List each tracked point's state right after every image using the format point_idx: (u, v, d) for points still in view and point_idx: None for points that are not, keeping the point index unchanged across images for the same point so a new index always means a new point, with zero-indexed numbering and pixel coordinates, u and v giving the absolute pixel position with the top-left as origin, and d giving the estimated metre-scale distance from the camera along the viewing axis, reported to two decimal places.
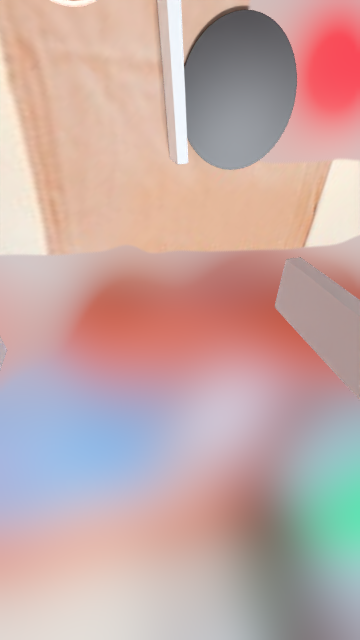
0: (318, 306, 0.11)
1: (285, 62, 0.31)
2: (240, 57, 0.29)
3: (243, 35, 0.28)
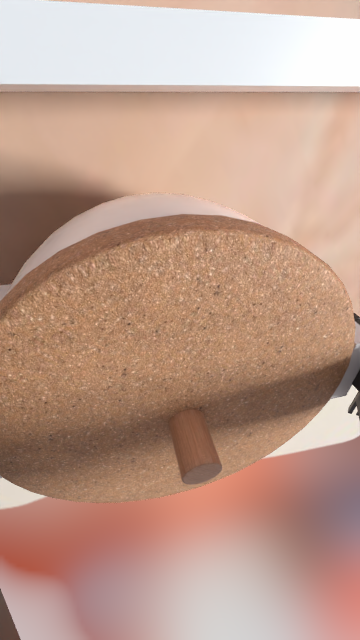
0: None
1: None
2: None
3: None
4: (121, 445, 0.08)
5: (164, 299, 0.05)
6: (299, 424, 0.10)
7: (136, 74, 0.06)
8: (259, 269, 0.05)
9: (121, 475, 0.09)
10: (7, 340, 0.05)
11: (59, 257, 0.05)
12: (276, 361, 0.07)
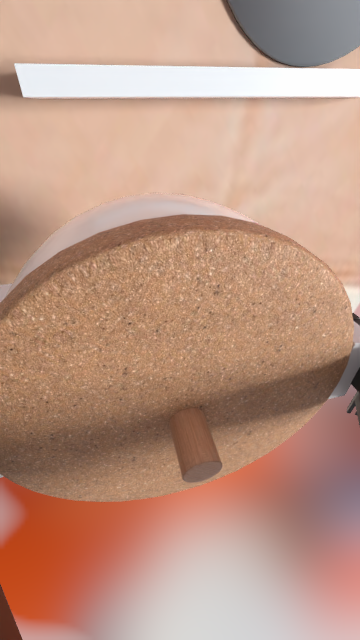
0: None
1: None
2: None
3: None
4: (121, 444, 0.08)
5: (164, 300, 0.05)
6: (299, 423, 0.10)
7: (123, 92, 0.14)
8: (258, 269, 0.06)
9: (122, 474, 0.09)
10: (9, 340, 0.05)
11: (60, 257, 0.05)
12: (276, 360, 0.07)
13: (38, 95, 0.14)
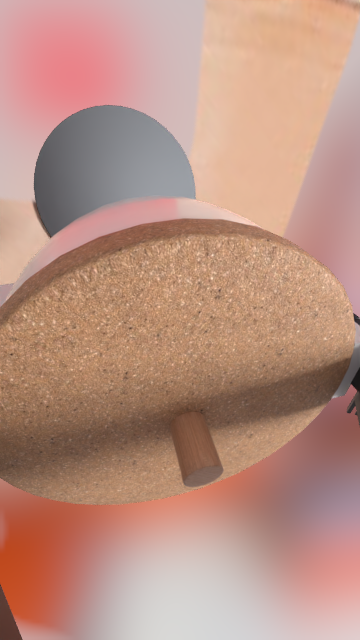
0: None
1: (72, 135, 0.21)
2: (80, 209, 0.25)
3: (59, 208, 0.24)
4: (122, 448, 0.08)
5: (165, 304, 0.05)
6: (300, 426, 0.10)
7: None
8: (260, 273, 0.05)
9: (122, 477, 0.09)
10: (9, 345, 0.05)
11: (60, 262, 0.05)
12: (277, 364, 0.07)
13: None
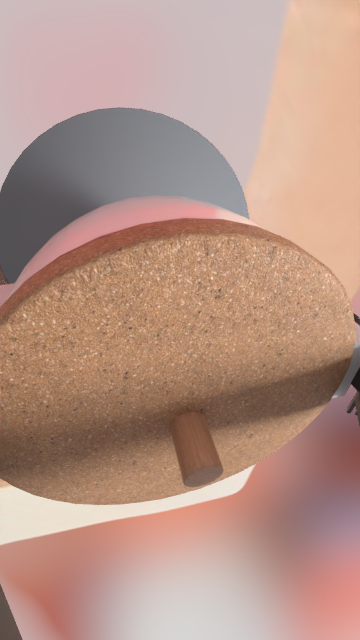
0: None
1: (58, 160, 0.12)
2: None
3: None
4: (122, 448, 0.08)
5: (165, 304, 0.05)
6: (300, 425, 0.10)
7: None
8: (260, 273, 0.05)
9: (122, 477, 0.09)
10: (9, 345, 0.05)
11: (60, 262, 0.05)
12: (277, 363, 0.07)
13: None
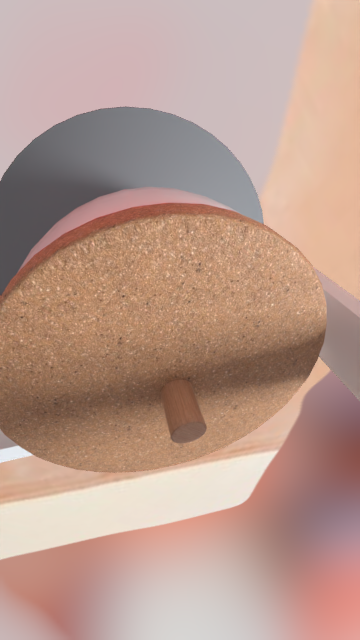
0: None
1: (56, 165, 0.11)
2: None
3: None
4: (118, 412, 0.09)
5: (153, 275, 0.06)
6: (282, 400, 0.11)
7: None
8: (234, 249, 0.06)
9: (119, 443, 0.10)
10: (20, 308, 0.06)
11: (64, 238, 0.06)
12: (255, 335, 0.08)
13: None
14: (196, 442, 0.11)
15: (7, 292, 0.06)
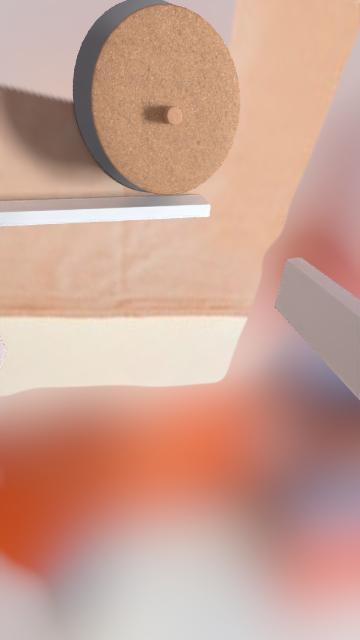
0: (318, 306, 0.11)
1: None
2: None
3: None
4: (143, 123, 0.20)
5: (163, 31, 0.17)
6: (222, 148, 0.22)
7: (31, 222, 0.26)
8: (193, 26, 0.17)
9: (142, 151, 0.21)
10: (115, 38, 0.17)
11: None
12: (204, 84, 0.19)
13: None
14: (179, 169, 0.22)
15: None
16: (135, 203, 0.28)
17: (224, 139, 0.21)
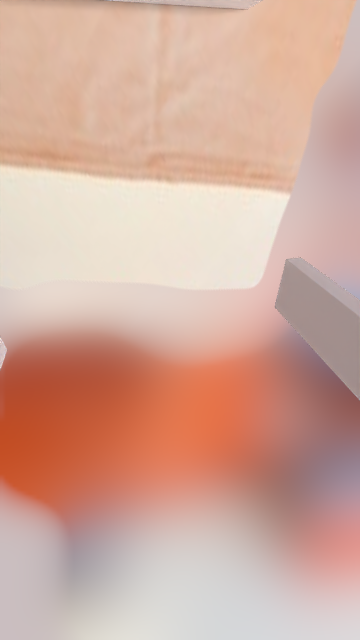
0: (318, 306, 0.11)
1: None
2: None
3: None
4: None
5: None
6: None
7: None
8: None
9: None
10: None
11: None
12: None
13: None
14: None
15: None
16: None
17: None
